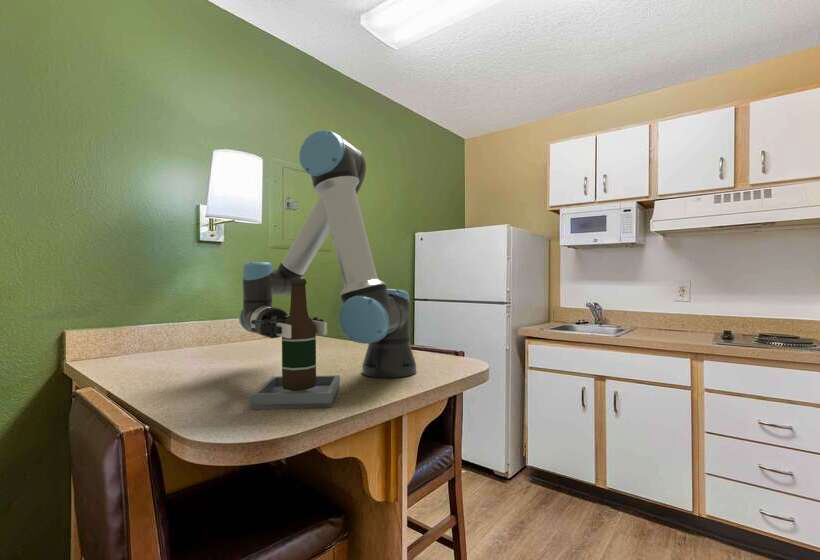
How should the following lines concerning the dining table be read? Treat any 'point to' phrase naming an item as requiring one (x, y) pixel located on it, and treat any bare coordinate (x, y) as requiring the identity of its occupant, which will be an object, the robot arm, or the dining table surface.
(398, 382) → the dining table surface
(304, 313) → the beer bottle
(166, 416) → the dining table surface
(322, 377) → the tray
